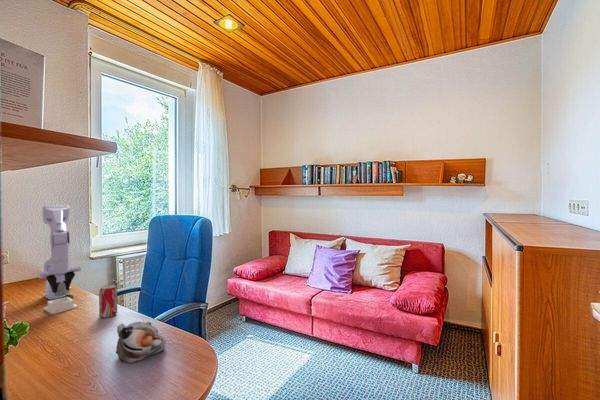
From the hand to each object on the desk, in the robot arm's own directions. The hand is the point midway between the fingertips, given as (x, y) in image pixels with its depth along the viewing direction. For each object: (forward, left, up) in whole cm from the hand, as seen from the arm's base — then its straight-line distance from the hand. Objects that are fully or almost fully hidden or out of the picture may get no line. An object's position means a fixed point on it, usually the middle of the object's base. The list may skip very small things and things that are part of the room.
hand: (60, 291), depth 131 cm
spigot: (0, 0, -2) cm, 2 cm away
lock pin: (-6, +5, -5) cm, 9 cm away
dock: (-2, +1, -8) cm, 8 cm away
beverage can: (+25, +8, -8) cm, 27 cm away
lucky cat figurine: (+66, 0, -8) cm, 67 cm away
